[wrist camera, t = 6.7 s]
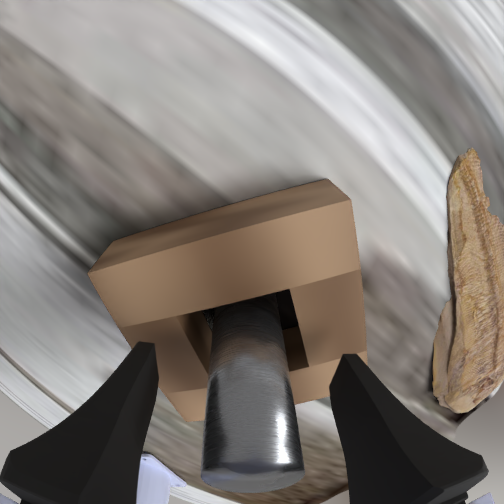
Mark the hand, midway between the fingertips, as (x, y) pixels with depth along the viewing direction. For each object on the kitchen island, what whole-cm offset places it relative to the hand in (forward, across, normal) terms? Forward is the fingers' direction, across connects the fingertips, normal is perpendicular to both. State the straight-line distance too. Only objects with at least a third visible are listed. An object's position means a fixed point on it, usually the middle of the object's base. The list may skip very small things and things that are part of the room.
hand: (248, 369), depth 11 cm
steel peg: (+4, 0, 0) cm, 4 cm away
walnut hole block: (+4, 0, 0) cm, 4 cm away
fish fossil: (+5, -18, 0) cm, 18 cm away
